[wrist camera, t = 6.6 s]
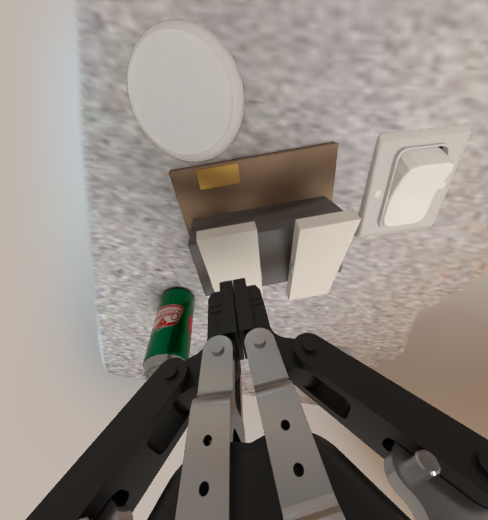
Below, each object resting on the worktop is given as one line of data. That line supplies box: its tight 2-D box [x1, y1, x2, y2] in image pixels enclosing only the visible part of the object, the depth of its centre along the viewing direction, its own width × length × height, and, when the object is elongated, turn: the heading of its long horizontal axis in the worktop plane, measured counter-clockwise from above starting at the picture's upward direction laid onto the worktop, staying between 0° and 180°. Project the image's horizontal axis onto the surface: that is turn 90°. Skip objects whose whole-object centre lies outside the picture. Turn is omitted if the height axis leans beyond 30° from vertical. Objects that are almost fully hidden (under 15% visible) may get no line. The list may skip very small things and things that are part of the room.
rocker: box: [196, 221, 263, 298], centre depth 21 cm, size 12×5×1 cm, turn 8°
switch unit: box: [169, 142, 343, 296], centre depth 26 cm, size 18×18×7 cm
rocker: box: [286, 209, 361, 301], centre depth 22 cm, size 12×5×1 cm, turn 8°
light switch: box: [355, 124, 472, 237], centre depth 27 cm, size 11×4×13 cm
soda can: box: [143, 288, 194, 379], centre depth 29 cm, size 5×5×12 cm
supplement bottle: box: [127, 19, 244, 162], centre depth 15 cm, size 7×7×13 cm
